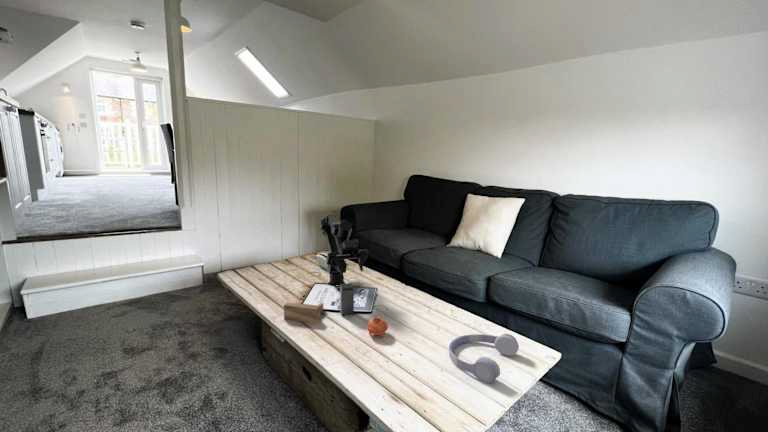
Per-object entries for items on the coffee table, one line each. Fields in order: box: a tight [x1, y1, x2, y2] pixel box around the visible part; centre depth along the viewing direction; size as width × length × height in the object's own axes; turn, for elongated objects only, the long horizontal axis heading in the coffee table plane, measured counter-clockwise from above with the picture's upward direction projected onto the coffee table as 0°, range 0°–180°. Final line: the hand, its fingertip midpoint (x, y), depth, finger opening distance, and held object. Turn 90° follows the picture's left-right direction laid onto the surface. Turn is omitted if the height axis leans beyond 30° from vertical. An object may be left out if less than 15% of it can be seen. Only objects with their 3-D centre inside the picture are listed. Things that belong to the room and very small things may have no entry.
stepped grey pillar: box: [339, 282, 355, 317], centre depth 142 cm, size 5×5×12 cm
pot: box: [366, 317, 389, 339], centre depth 127 cm, size 8×8×7 cm
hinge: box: [315, 252, 328, 271], centre depth 198 cm, size 17×5×10 cm, turn 38°
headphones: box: [448, 333, 520, 384], centre depth 114 cm, size 22×7×20 cm
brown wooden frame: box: [283, 299, 324, 324], centre depth 141 cm, size 11×14×6 cm
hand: (352, 272), depth 150 cm, fingers open, 9 cm apart
